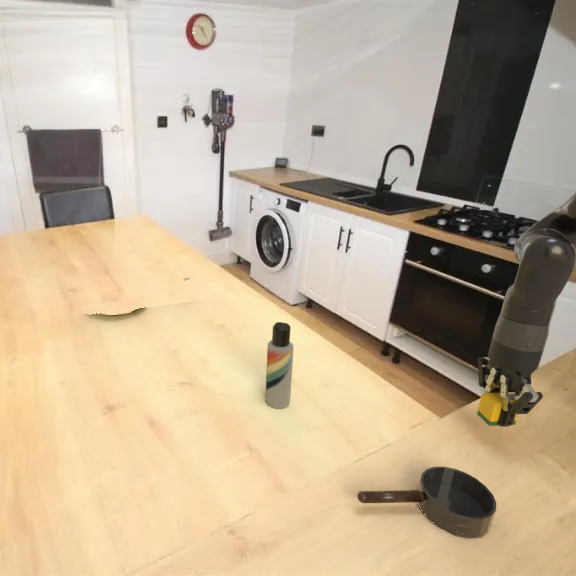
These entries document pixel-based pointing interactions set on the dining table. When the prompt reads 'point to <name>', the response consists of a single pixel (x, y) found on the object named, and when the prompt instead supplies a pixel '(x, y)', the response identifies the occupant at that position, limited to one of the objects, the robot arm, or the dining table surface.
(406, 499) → the pan handle
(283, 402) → the lotion bottle
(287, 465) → the dining table surface
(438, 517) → the pan
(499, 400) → the sponge
